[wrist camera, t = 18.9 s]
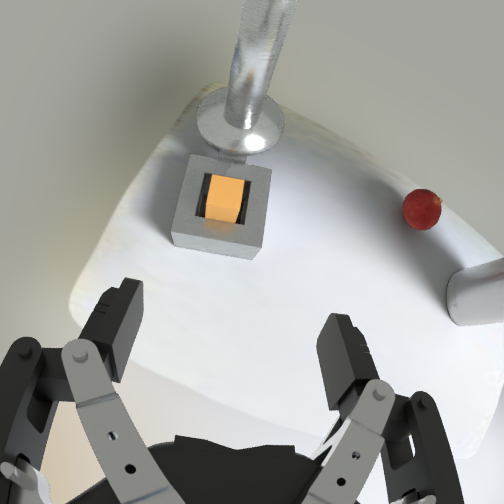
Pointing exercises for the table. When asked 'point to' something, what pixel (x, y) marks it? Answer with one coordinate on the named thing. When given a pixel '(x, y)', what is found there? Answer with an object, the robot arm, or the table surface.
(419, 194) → the pomegranate
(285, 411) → the table surface
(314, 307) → the table surface
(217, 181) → the orange block
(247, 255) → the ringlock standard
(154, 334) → the table surface
